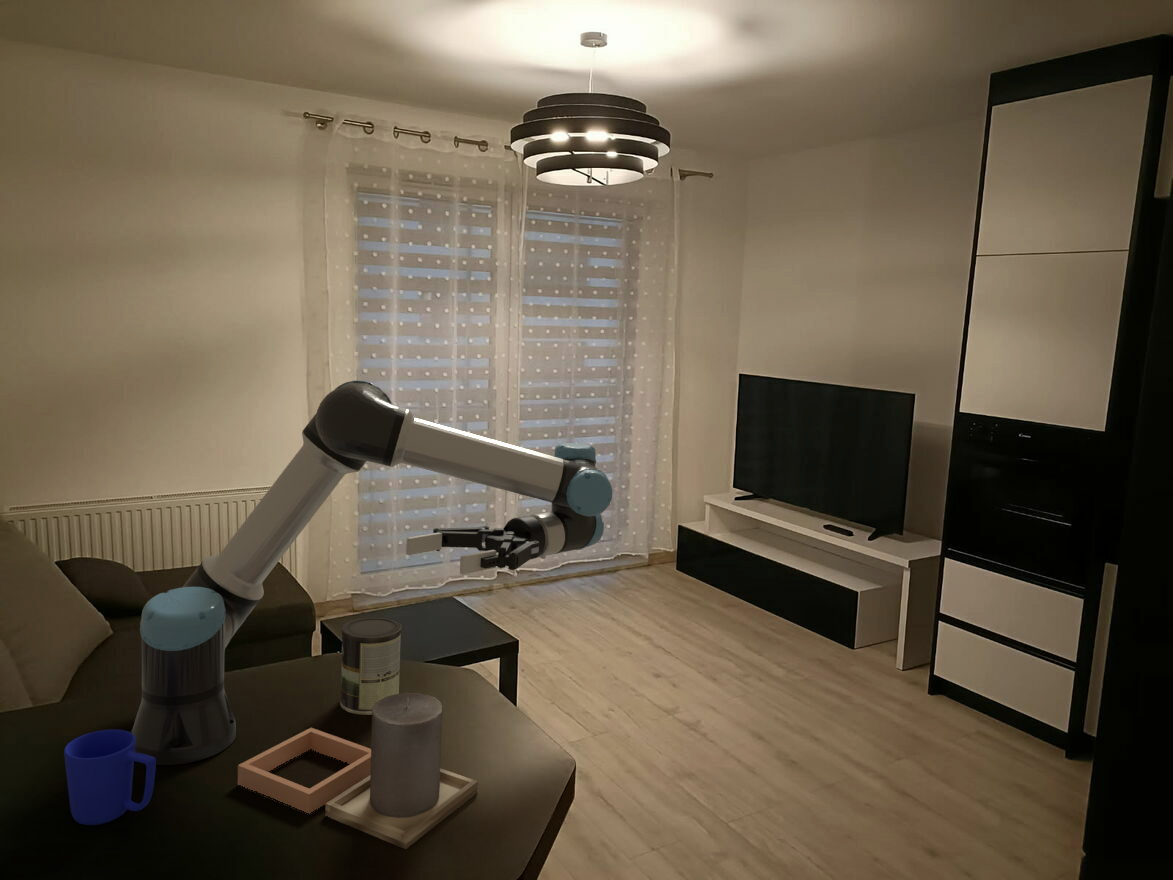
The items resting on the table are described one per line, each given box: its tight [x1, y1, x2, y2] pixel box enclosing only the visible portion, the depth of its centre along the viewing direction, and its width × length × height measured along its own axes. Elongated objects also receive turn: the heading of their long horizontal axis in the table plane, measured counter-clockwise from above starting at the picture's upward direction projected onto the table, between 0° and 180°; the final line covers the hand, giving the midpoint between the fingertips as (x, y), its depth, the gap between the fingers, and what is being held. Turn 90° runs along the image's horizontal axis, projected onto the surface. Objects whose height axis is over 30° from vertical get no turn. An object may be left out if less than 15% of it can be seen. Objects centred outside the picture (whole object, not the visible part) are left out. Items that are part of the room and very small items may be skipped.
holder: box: [237, 727, 371, 815], centre depth 123 cm, size 14×14×3 cm
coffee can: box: [339, 616, 403, 716], centre depth 148 cm, size 10×10×14 cm
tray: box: [324, 767, 479, 850], centre depth 118 cm, size 14×16×2 cm
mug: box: [63, 729, 157, 826], centre depth 111 cm, size 8×12×10 cm
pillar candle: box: [370, 692, 443, 818], centre depth 117 cm, size 10×10×15 cm
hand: (433, 555), depth 129 cm, fingers open, 13 cm apart
